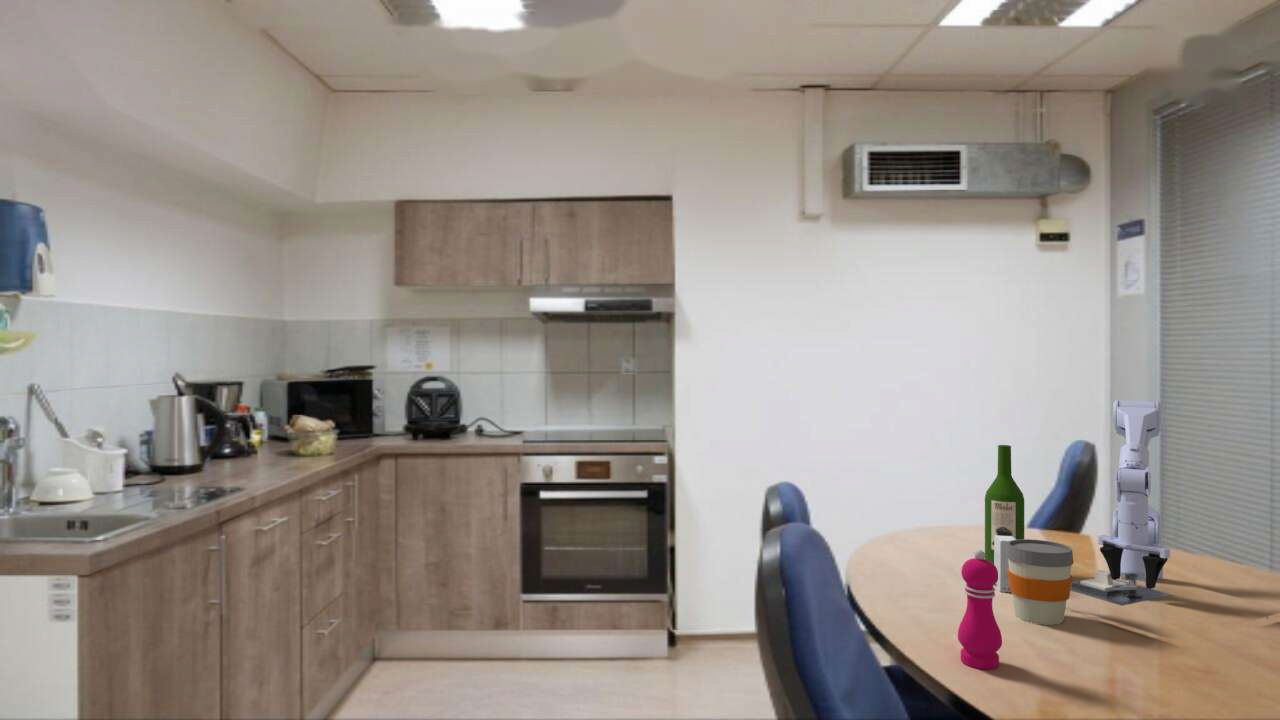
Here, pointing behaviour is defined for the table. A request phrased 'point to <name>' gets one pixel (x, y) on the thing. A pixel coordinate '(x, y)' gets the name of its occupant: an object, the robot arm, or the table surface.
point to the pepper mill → (979, 615)
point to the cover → (1102, 581)
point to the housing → (1118, 593)
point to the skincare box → (1002, 562)
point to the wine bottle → (1003, 505)
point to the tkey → (1130, 581)
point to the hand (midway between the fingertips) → (1132, 583)
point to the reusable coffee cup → (1039, 579)
